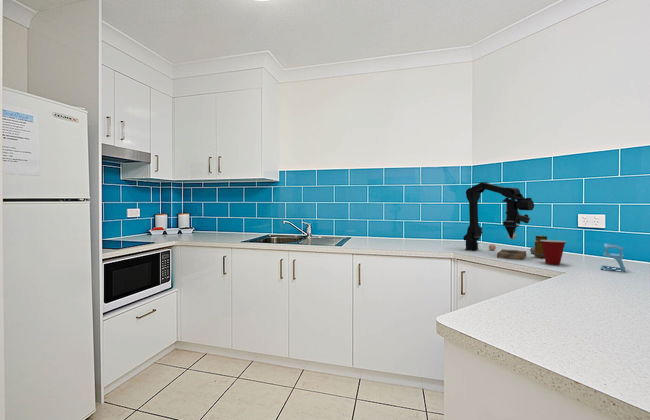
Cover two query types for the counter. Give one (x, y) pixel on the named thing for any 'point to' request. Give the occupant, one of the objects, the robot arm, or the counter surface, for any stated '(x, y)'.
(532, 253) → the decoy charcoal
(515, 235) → the steel ball
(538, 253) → the condiment
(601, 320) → the counter surface
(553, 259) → the plastic cup
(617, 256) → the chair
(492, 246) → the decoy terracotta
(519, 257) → the brown recessed board
